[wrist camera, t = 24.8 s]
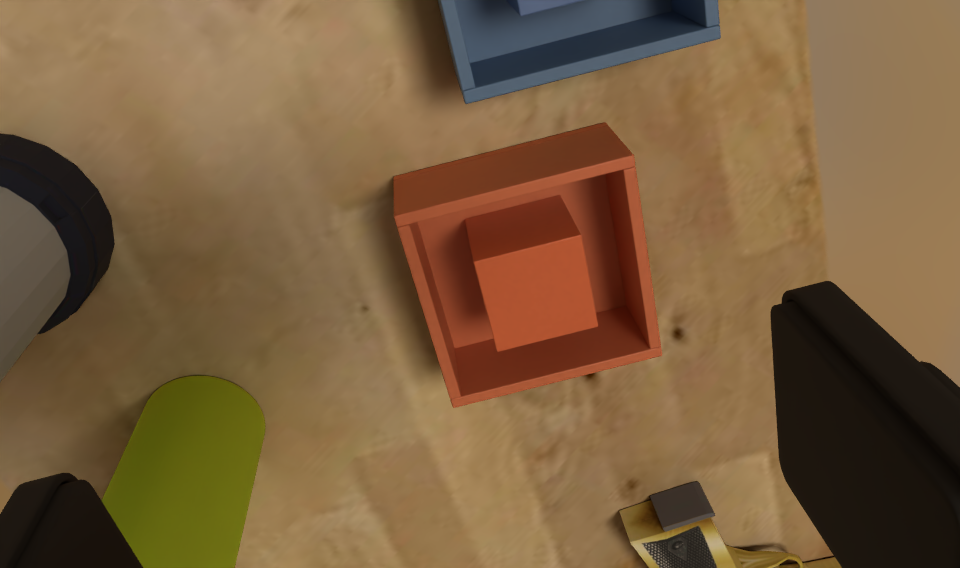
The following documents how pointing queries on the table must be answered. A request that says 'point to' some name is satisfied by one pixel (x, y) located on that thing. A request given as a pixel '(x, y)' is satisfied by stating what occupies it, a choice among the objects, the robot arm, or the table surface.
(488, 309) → the terracotta block
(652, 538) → the handgun
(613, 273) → the terracotta bin
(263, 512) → the table surface
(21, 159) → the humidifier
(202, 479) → the soap dispenser
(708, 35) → the blue bin
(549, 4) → the blue block
